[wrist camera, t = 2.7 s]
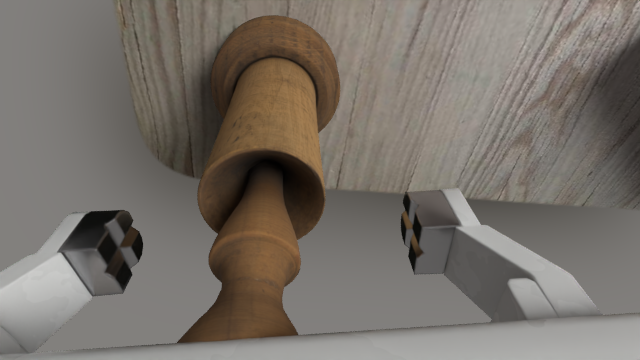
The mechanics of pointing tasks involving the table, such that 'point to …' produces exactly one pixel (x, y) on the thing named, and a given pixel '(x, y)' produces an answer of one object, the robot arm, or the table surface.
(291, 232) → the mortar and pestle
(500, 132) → the table surface
